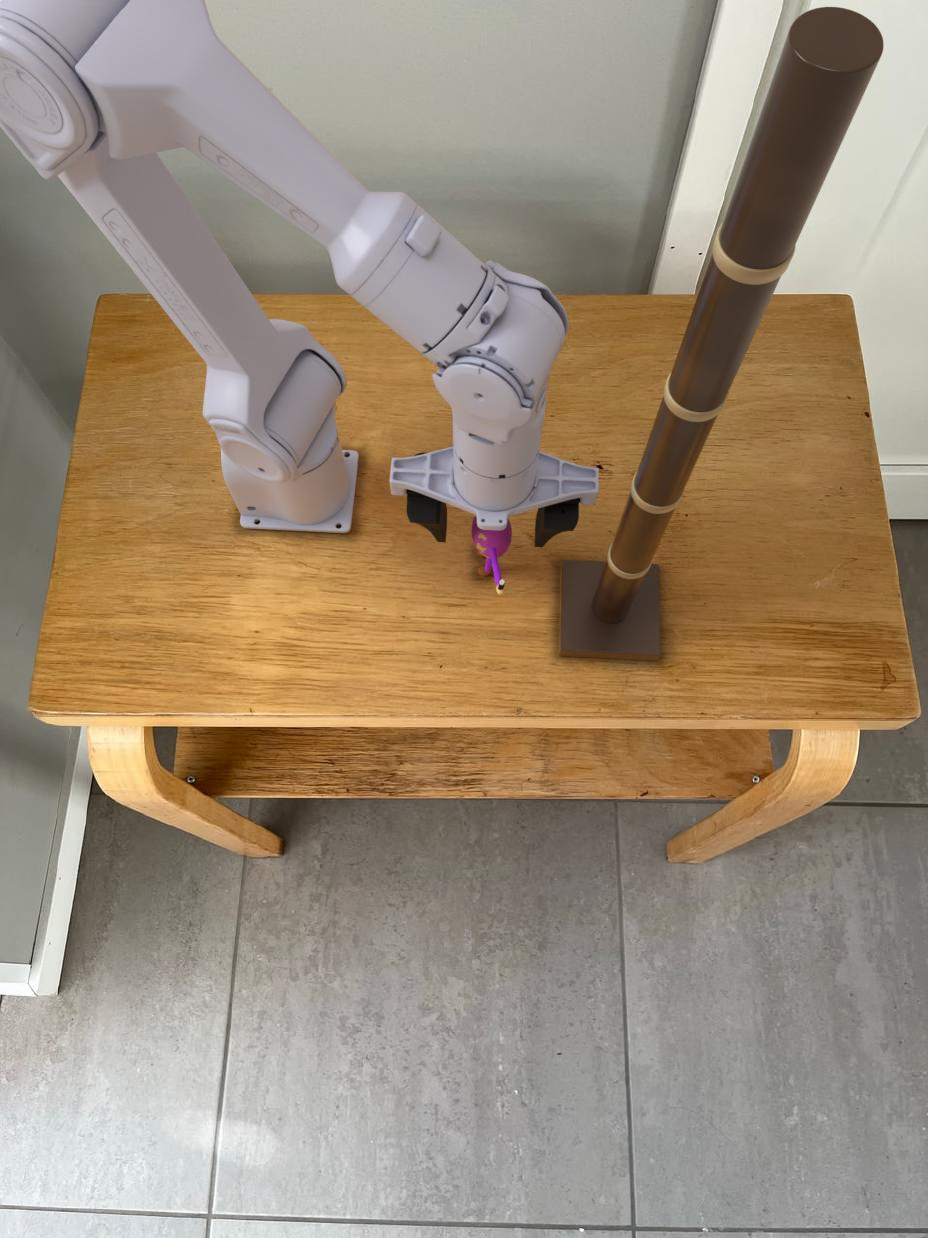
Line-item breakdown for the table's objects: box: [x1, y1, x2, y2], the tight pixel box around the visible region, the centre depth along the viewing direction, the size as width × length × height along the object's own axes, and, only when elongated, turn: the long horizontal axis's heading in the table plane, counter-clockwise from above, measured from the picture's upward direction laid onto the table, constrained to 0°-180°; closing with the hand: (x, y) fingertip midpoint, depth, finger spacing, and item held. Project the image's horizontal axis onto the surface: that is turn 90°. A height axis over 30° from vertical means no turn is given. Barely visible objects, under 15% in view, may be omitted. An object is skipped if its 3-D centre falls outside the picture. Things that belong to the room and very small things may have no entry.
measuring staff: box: [558, 6, 885, 662], centre depth 52 cm, size 8×8×50 cm
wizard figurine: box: [470, 514, 513, 596], centre depth 72 cm, size 11×3×12 cm, turn 9°
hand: (490, 533), depth 72 cm, fingers open, 7 cm apart
